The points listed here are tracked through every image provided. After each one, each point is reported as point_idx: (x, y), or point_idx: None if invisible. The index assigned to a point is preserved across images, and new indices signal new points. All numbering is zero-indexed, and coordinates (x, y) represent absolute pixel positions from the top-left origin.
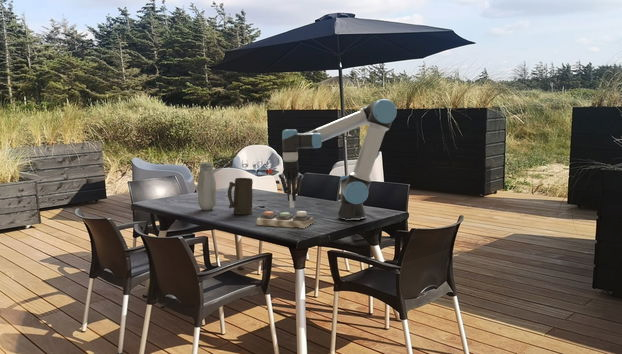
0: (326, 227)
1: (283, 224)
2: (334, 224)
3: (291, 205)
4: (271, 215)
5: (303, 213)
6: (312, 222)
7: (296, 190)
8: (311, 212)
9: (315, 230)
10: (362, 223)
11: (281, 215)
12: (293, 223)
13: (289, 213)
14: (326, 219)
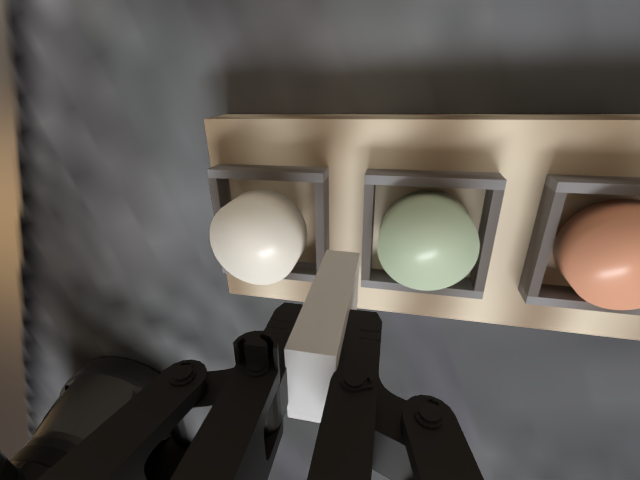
0: (125, 185)
1: (404, 116)
2: (131, 272)
3: (332, 263)
4: (574, 223)
5: (222, 208)
6: None
7: (155, 408)
8: None
9: (134, 72)
10: (40, 316)
11: (450, 200)
12: (308, 118)
13: (377, 244)
14: None
